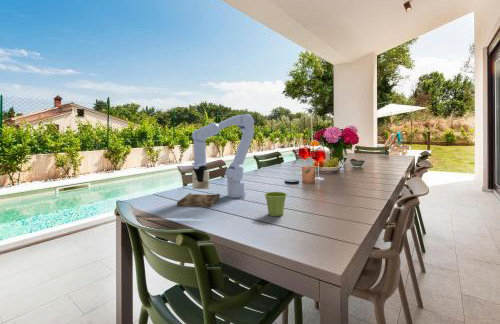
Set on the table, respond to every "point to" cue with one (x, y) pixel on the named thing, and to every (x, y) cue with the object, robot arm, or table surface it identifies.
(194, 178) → the birch block
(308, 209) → the table surface
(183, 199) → the walnut rack
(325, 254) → the table surface
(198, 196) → the oak offcuts
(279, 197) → the plant pot
